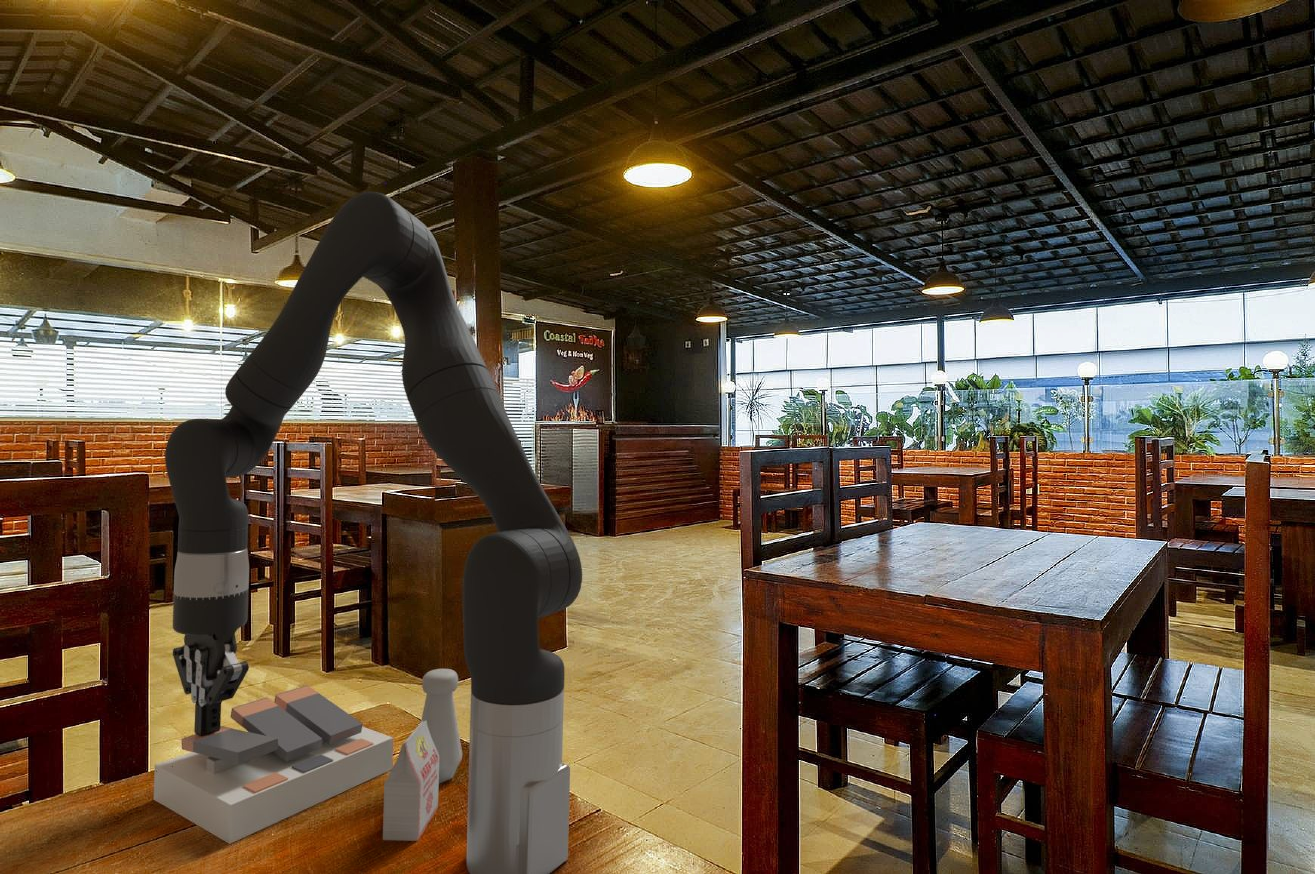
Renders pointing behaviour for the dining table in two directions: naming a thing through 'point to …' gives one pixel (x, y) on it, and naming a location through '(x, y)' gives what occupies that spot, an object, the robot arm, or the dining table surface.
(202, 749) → the switch
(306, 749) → the switch
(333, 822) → the dining table surface
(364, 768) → the switch box
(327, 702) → the switch
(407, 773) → the white gabled box
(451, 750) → the salt shaker
